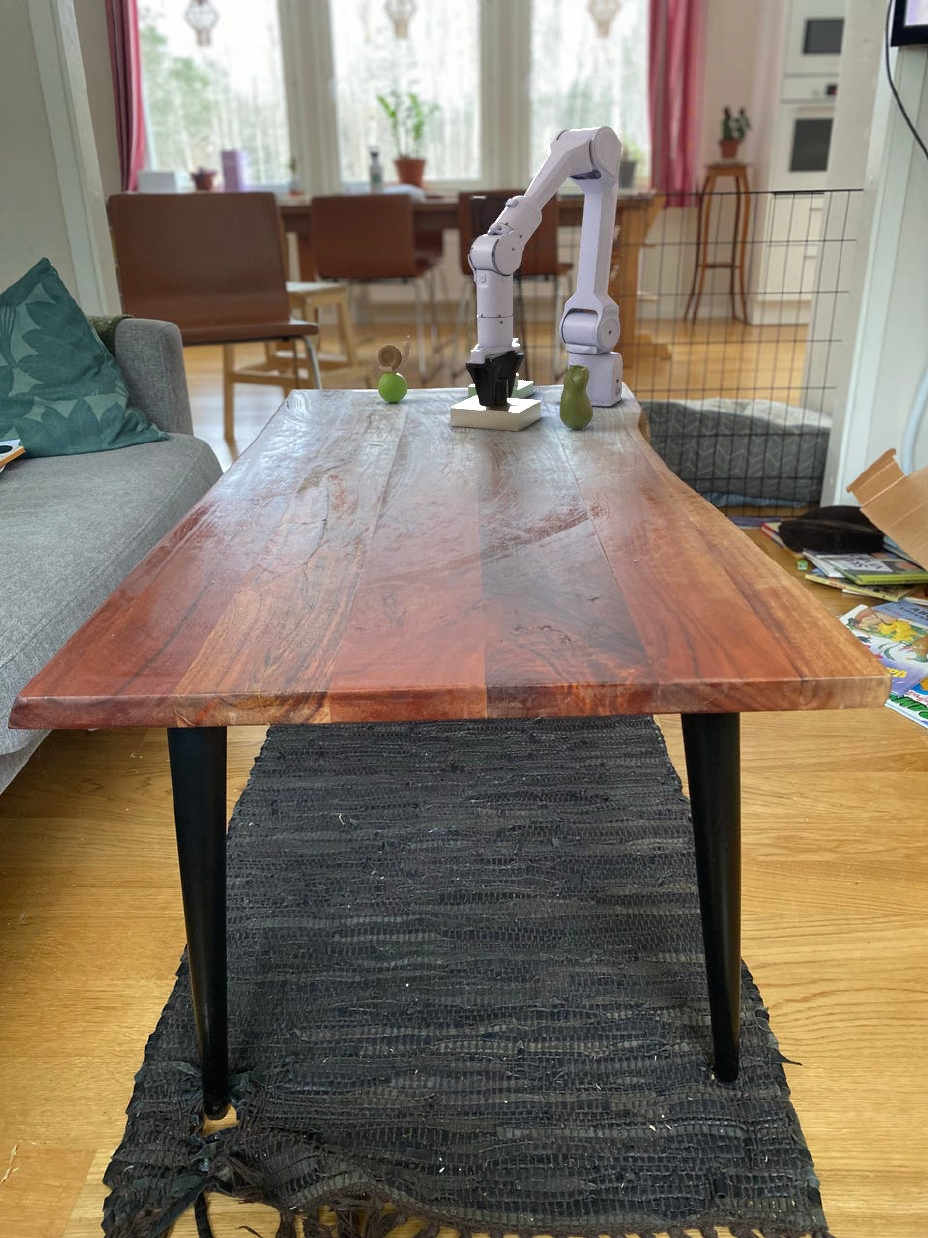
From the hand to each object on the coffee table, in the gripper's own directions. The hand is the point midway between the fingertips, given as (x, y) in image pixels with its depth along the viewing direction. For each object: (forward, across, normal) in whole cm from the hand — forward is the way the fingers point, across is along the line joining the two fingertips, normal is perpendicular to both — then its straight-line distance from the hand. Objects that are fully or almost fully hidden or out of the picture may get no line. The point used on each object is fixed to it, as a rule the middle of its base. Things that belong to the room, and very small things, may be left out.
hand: (495, 401), depth 155 cm
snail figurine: (+4, +9, +24) cm, 26 cm away
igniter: (+3, +21, +8) cm, 23 cm away
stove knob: (0, 0, 0) cm, 0 cm away
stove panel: (+3, 0, 0) cm, 3 cm away
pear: (+4, 0, -14) cm, 14 cm away
